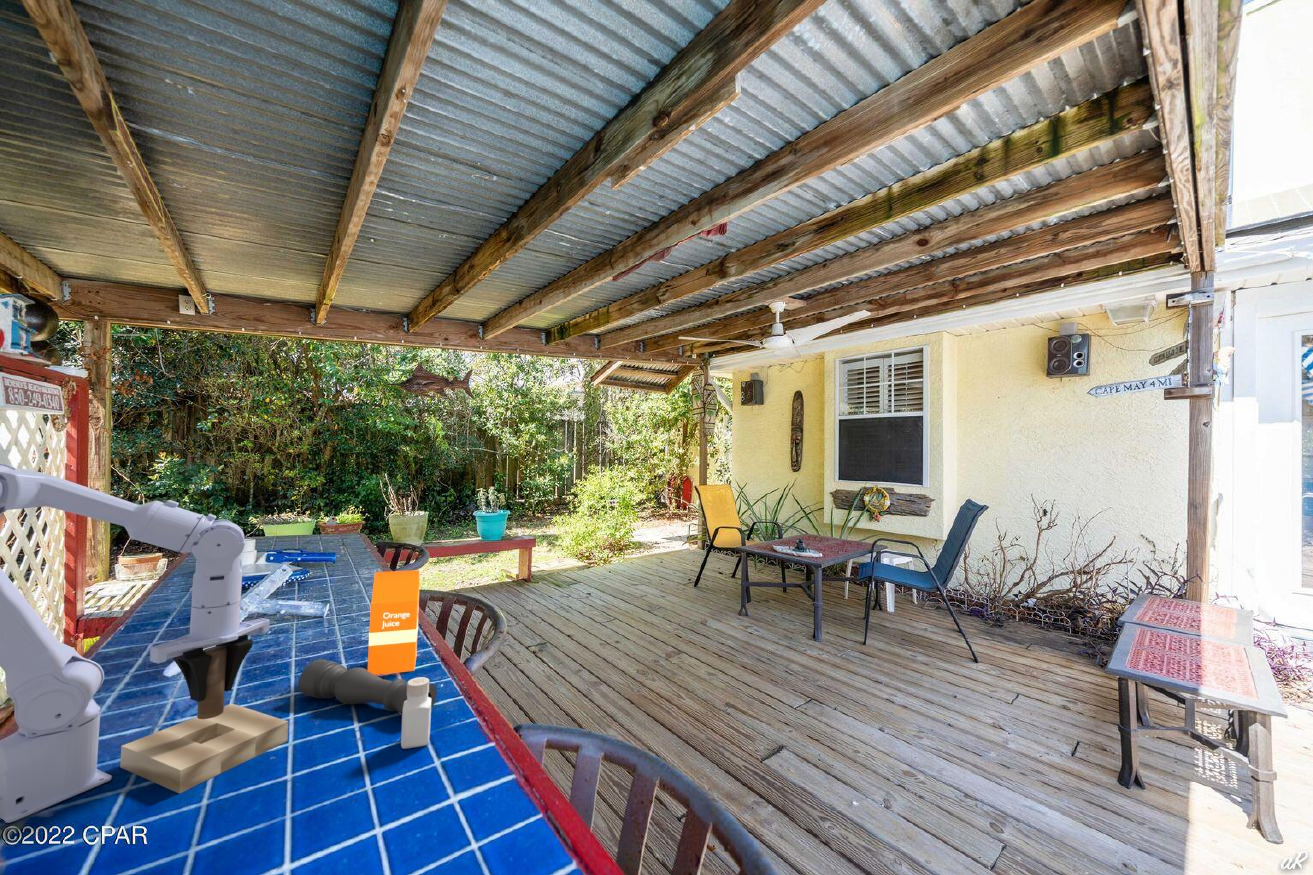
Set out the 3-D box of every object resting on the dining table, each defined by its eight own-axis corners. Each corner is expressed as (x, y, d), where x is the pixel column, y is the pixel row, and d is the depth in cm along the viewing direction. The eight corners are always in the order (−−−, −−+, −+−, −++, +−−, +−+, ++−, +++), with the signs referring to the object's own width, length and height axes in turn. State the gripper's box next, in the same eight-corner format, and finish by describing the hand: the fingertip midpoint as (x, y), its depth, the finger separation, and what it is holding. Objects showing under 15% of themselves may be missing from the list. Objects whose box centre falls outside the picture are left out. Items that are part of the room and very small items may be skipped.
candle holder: (303, 662, 96) (416, 685, 89) (331, 656, 102) (440, 678, 95) (294, 698, 95) (409, 725, 88) (324, 691, 100) (434, 715, 93)
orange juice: (414, 670, 110) (419, 574, 110) (366, 676, 107) (371, 576, 107) (416, 656, 117) (420, 566, 118) (371, 661, 114) (376, 568, 114)
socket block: (179, 793, 69) (180, 770, 70) (120, 767, 75) (121, 745, 75) (287, 740, 82) (288, 721, 83) (230, 721, 88) (231, 703, 88)
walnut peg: (204, 720, 77) (208, 654, 77) (192, 716, 78) (196, 651, 78) (228, 711, 80) (231, 648, 80) (215, 707, 81) (219, 644, 81)
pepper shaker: (402, 737, 85) (405, 677, 85) (429, 733, 86) (432, 674, 86) (400, 750, 81) (403, 688, 81) (428, 746, 82) (431, 684, 82)
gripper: (173, 620, 71) (167, 722, 71) (283, 594, 85) (279, 680, 84) (143, 612, 74) (137, 711, 73) (255, 589, 87) (250, 672, 87)
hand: (211, 694), depth 79 cm, fingers closed on walnut peg, 3 cm apart
